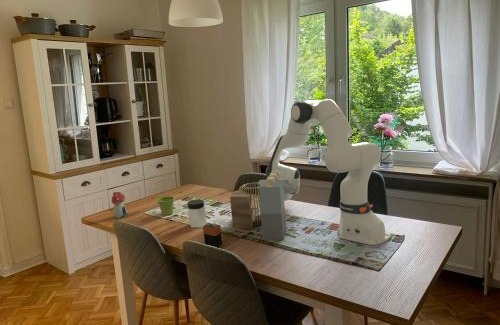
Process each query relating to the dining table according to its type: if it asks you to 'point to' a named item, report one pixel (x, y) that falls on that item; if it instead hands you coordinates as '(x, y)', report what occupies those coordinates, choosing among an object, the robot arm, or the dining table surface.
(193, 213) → the jar
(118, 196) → the decorative ornament
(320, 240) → the dining table surface
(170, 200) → the plant pot
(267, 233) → the boxes
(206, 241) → the battery
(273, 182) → the bar
